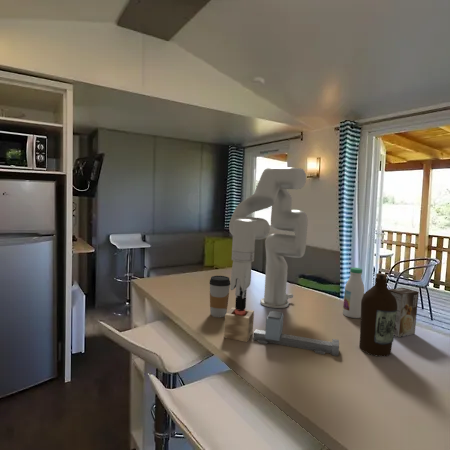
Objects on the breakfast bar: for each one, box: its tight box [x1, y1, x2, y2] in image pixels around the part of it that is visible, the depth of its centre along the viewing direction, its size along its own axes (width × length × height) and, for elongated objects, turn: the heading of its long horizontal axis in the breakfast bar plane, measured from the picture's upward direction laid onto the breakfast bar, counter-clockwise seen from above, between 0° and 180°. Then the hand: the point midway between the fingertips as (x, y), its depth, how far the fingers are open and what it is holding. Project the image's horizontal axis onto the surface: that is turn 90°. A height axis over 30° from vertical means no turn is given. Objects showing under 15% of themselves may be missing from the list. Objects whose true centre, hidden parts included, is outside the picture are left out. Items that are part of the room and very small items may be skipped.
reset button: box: [235, 308, 246, 316], centre depth 117 cm, size 4×4×5 cm
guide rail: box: [252, 328, 340, 357], centre depth 112 cm, size 27×6×3 cm, turn 72°
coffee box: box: [388, 287, 419, 338], centre depth 126 cm, size 9×6×16 cm
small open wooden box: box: [223, 307, 255, 343], centre depth 117 cm, size 8×8×8 cm
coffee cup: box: [209, 275, 231, 318], centre depth 136 cm, size 8×8×15 cm
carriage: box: [265, 310, 284, 341], centre depth 113 cm, size 4×7×8 cm, turn 162°
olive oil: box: [359, 272, 397, 357], centre depth 110 cm, size 11×11×25 cm
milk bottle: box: [342, 267, 365, 319], centre depth 142 cm, size 8×8×20 cm
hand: (240, 308), depth 117 cm, fingers closed
